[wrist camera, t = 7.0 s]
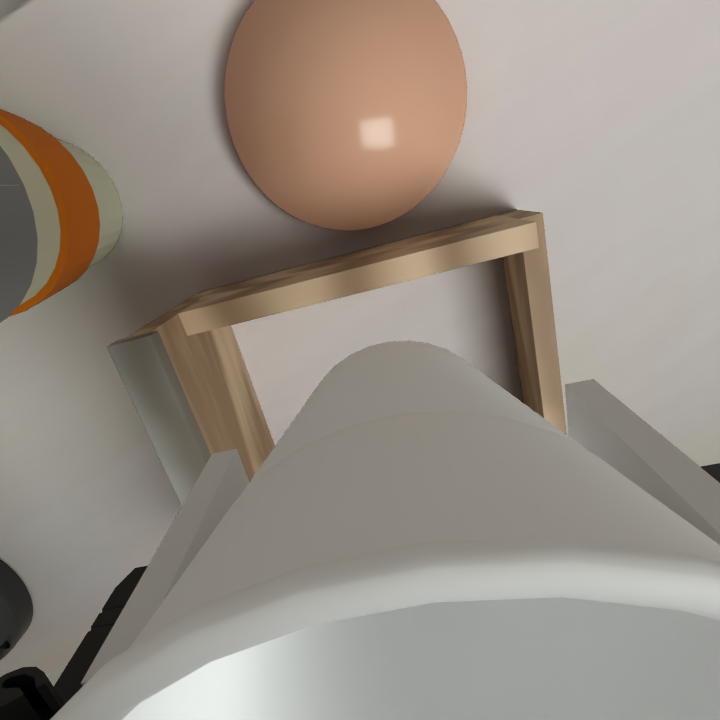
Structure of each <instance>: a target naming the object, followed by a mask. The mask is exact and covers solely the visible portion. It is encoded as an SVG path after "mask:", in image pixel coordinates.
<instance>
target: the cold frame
mask: <svg viewBox="0 0 720 720" xmlns="http://www.w3.org/2000/svg"><path fill="white" fill-rule="evenodd" d="M500 257H503V262H504V269H505V276H506V283H507V290H508V297H509V304H510V311H511V318H512V325H513V332H514V339H515V346H516V353H517V360H518V367H519V374H520V382H521V389H522V396H523V403H524V404H525V405H527V406H528V407H529V408H530V409H532V410H533V411H534V412H536V413H538V414H539V415H540V416H541V417H543V418H544V419H545V420H547V421H548V422H550V423H552V424H553V425H554V426H555V427H556V428H557V429H559V430H560V431H562V432H564V433H565V434H566V435H567V433H566V424H565V414H564V405H563V396H562V387H561V378H560V368H559V359H558V350H557V341H556V331H555V322H554V313H553V304H552V295H551V285H550V276H549V267H548V258H547V249H546V239H545V230H544V221H543V213H540V212H531V211H523V210H515V211H511V212H507V213H503V214H499V215H495V216H491V217H488V218H484V219H480V220H476V221H472V222H468V223H464V224H461V225H457V226H453V227H449V228H445V229H441V230H438V231H434V232H430V233H426V234H422V235H418V236H414V237H411V238H407V239H403V240H399V241H395V242H391V243H387V244H384V245H380V246H376V247H372V248H368V249H364V250H360V251H357V252H353V253H349V254H345V255H341V256H337V257H333V258H330V259H326V260H322V261H318V262H314V263H310V264H306V265H303V266H299V267H295V268H291V269H287V270H283V271H279V272H276V273H272V274H268V275H264V276H260V277H256V278H253V279H249V280H245V281H241V282H237V283H233V284H229V285H226V286H222V287H218V288H214V289H210V290H206V291H202V292H199V293H197V294H196V295H194V296H192V297H191V298H189V299H187V300H186V301H184V302H183V303H181V304H179V305H178V306H176V307H175V308H173V309H171V310H170V311H168V312H167V313H165V314H163V315H162V316H160V317H159V318H157V319H155V320H154V321H152V322H151V323H149V324H147V325H146V326H144V327H143V328H141V329H139V330H138V331H136V332H135V333H133V334H131V335H130V336H128V337H127V338H125V339H122V340H118V341H116V342H114V343H112V344H111V345H109V346H107V349H108V351H109V353H110V355H111V357H112V359H113V362H114V364H115V366H116V368H117V370H118V372H119V374H120V376H121V378H122V381H123V383H124V385H125V387H126V389H127V391H128V393H129V395H130V397H131V400H132V402H133V404H134V406H135V408H136V410H137V412H138V414H139V416H140V419H141V421H142V423H143V425H144V427H145V429H146V431H147V433H148V435H149V438H150V440H151V442H152V444H153V446H154V448H155V450H156V452H157V454H158V457H159V459H160V461H161V463H162V465H163V467H164V469H165V471H166V473H167V476H168V478H169V480H170V482H171V484H172V486H173V488H174V490H175V492H176V495H177V497H178V499H179V501H180V503H181V505H182V506H183V504H184V502H185V500H186V499H187V497H188V495H189V493H190V492H191V490H192V488H193V486H194V485H195V483H196V481H197V479H198V478H199V476H200V474H201V472H202V471H203V469H204V467H205V465H206V464H207V462H208V460H209V459H210V457H211V455H212V454H214V453H219V452H224V451H229V450H234V449H237V450H238V453H239V456H240V458H241V461H242V464H243V467H244V469H245V472H246V475H247V477H248V480H249V483H250V481H251V480H252V478H253V476H254V475H255V473H256V472H257V471H258V470H259V469H260V467H261V465H262V464H263V462H264V461H265V460H266V459H267V457H268V456H269V454H270V452H271V451H272V450H273V448H274V447H275V445H274V442H273V440H272V437H271V434H270V431H269V429H268V426H267V423H266V420H265V418H264V415H263V412H262V410H261V407H260V404H259V401H258V399H257V396H256V393H255V390H254V388H253V385H252V382H251V380H250V377H249V374H248V371H247V369H246V366H245V363H244V360H243V358H242V355H241V352H240V350H239V347H238V344H237V341H236V339H235V336H234V333H233V330H232V328H231V325H234V324H237V323H241V322H245V321H249V320H253V319H257V318H261V317H265V316H269V315H273V314H277V313H281V312H285V311H289V310H293V309H297V308H301V307H305V306H309V305H313V304H317V303H321V302H325V301H329V300H333V299H337V298H341V297H345V296H349V295H353V294H357V293H361V292H365V291H369V290H373V289H377V288H381V287H385V286H389V285H393V284H397V283H401V282H405V281H409V280H413V279H417V278H421V277H425V276H429V275H433V274H437V273H441V272H445V271H449V270H453V269H456V268H460V267H464V266H468V265H472V264H476V263H480V262H484V261H488V260H492V259H496V258H500Z"/></svg>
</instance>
